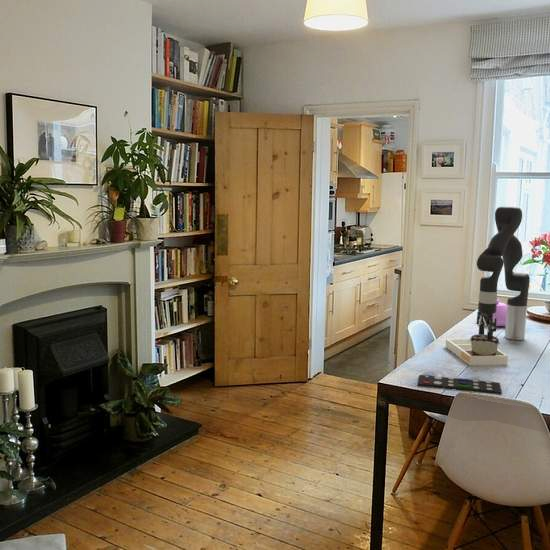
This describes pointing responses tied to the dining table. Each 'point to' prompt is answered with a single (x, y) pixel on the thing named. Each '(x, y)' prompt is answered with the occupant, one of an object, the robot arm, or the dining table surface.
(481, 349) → the food container
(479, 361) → the cream compartment tray
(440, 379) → the remote control
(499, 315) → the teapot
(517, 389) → the dining table surface
